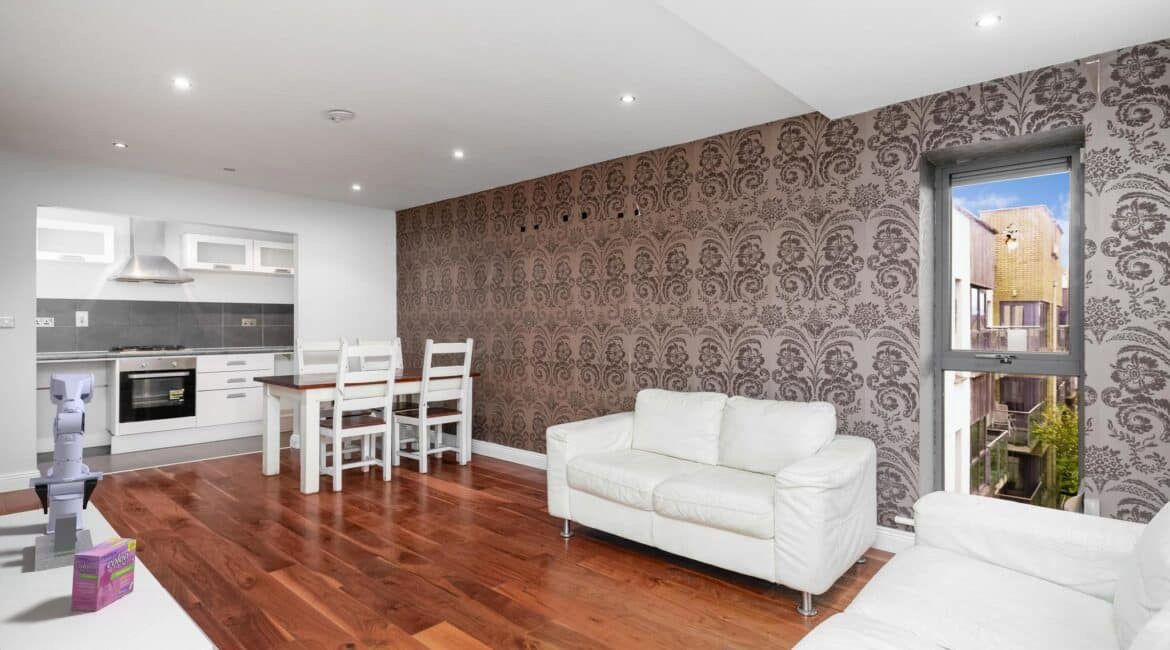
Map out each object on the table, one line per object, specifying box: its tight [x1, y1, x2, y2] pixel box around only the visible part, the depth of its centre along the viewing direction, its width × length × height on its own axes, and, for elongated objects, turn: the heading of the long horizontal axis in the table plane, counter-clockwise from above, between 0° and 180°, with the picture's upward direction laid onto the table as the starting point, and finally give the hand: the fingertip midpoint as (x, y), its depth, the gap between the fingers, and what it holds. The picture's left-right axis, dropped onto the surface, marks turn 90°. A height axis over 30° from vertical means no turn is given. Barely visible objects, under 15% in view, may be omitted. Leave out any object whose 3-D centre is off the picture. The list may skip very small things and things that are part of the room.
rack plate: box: [34, 528, 94, 572], centre depth 157 cm, size 20×11×3 cm, turn 42°
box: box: [70, 537, 137, 612], centre depth 133 cm, size 10×6×12 cm, turn 179°
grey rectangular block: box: [54, 513, 77, 552], centre depth 154 cm, size 4×4×8 cm
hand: (65, 510), depth 159 cm, fingers open, 7 cm apart
